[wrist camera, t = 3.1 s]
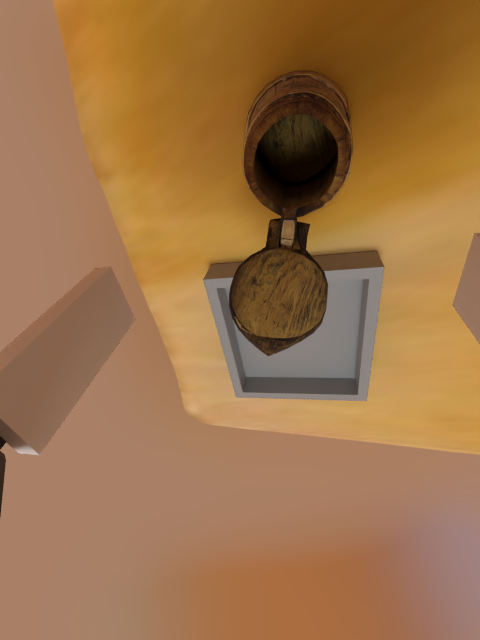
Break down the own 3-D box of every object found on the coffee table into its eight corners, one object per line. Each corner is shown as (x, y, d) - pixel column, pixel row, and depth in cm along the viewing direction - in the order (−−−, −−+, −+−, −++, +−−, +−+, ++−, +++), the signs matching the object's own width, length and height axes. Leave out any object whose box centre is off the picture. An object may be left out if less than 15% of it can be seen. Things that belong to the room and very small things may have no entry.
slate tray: (211, 264, 35) (203, 279, 32) (377, 250, 31) (384, 266, 28) (240, 379, 47) (236, 397, 44) (362, 380, 42) (366, 400, 40)
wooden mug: (241, 233, 32) (193, 348, 18) (248, 68, 23) (168, 43, 9) (325, 242, 31) (344, 370, 17) (365, 73, 22) (466, 53, 9)
